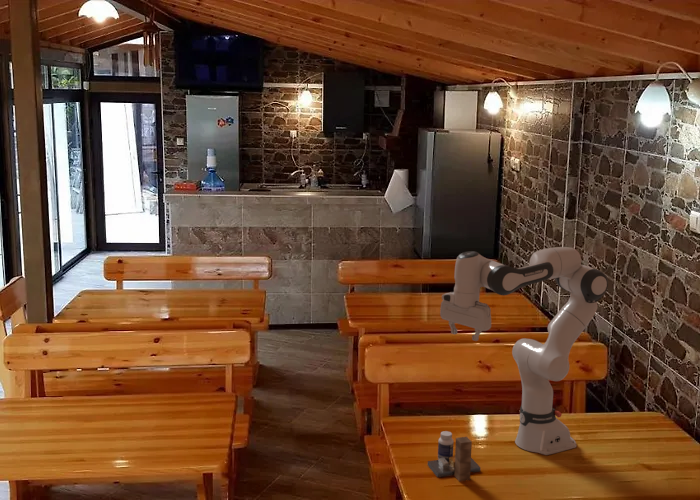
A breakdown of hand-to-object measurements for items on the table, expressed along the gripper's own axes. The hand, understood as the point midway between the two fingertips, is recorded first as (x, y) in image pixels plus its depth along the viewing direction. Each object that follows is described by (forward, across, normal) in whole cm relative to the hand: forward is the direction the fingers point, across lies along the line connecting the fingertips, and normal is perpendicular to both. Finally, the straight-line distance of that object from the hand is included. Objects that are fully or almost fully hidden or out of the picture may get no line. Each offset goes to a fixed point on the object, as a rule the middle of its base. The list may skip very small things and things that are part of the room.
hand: (464, 336), depth 265 cm
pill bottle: (+46, +2, +5) cm, 46 cm away
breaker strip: (+45, -4, +8) cm, 46 cm away
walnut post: (+45, -11, +11) cm, 48 cm away
